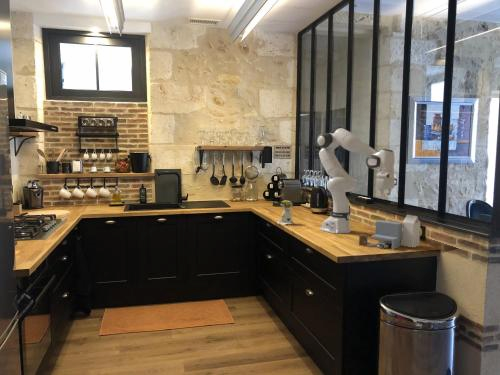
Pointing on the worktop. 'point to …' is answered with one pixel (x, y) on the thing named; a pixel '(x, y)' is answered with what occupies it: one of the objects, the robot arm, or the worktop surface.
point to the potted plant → (286, 213)
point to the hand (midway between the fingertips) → (385, 196)
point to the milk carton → (411, 231)
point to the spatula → (364, 242)
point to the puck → (380, 246)
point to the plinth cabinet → (389, 233)
